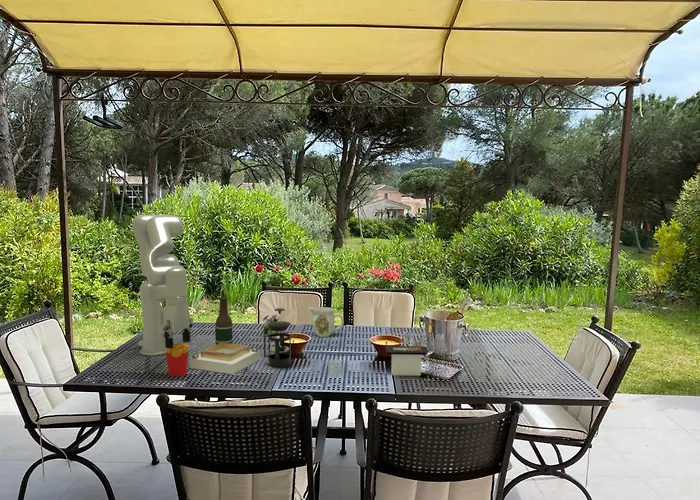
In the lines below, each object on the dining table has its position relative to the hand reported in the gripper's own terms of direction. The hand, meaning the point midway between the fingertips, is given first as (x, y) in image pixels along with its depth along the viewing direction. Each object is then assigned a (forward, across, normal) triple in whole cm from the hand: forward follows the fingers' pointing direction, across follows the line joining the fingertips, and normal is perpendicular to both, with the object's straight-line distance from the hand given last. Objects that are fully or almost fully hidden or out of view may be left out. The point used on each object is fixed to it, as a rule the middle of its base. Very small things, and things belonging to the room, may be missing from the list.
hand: (178, 344), depth 199 cm
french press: (+12, -26, +28) cm, 41 cm away
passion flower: (+11, -69, +1) cm, 70 cm away
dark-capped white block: (+13, -36, +80) cm, 88 cm away
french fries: (+12, 0, -1) cm, 12 cm away
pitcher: (+12, -75, +27) cm, 81 cm away
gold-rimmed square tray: (+12, -18, +8) cm, 23 cm away
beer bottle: (+11, -34, -4) cm, 36 cm away
